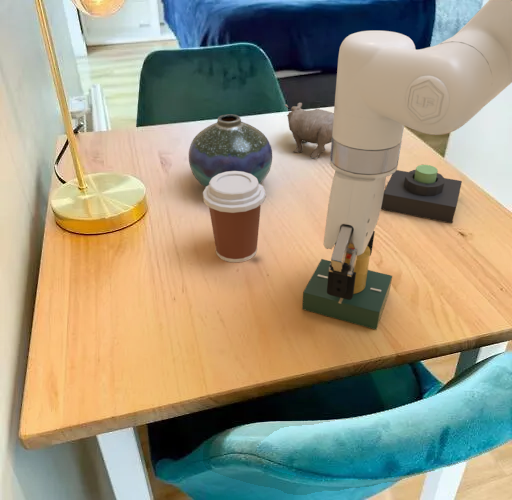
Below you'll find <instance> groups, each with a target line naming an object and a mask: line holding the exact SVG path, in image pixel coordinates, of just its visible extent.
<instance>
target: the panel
mask: <svg viewBox="0 0 512 500" xmlns="http://www.w3.org/2000/svg"><path fill="white" fill-rule="evenodd" d="M330 262H331V260H329V259H324V258H321V260H320V261H319V263H318V264H317V266H316V268H315V271H314V272H313V274H312V275H311V277H310V279H309V281H308V283H307V284H306V286H305V288H304V290H303V292H302V307H301V310H303V311H306V312H311V313H315V314H318V315H322V316H325V317H329V318H332V319H336V320H339V321H342V322H343V321H344V322H347V323H351V324H354V325H358V326H361V327H364V328H369V329H373V330H376V331H377V330H378V327H379V324H380V321H381V319H382V315H383V312H384V309H385V306H386V303H387V302H388V297H389V295H390V292H391V285H392V279H393V275H391V274H388V273H382V272H379V271H374V270H370V269H368V272H367V279H366V286H365V288H364V289H363V290H362V291H361V292H359V293H355V294H353V297H352V299H351V300H347V299H344V298H340V297H336V296H332V295H329V294H328V293H327V284H328V273H329V266H330Z"/></svg>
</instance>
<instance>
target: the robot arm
mask: <svg viewBox="0 0 512 500" xmlns="http://www.w3.org/2000/svg"><path fill="white" fill-rule="evenodd" d="M336 72H337V73H336V80H335V81H336V83H335V92H334V93H335V94H334V107H333V113H334V119H333V133H332V142H331V144H330V158H329V165H330V167H331V169H333V170H334V174H333V178H332V183H331V187H330V192H329V199H328V203H327V204H328V205H327V206H328V207H327V211H326V212H327V213H326V220H325V227H324V236H323V247H324V248H325V249H326V250H332V249H333V250H332V254H331V257H330V261H331V262H330V266H329V273H328V284H327V293H328V294H329V295H332V296H336V297H340V298H344V299H347V300H351V299H352V297H353V293H354V286H355V278H356V272H354V268H355V264H356V260H357V256H359V255H361V254H363V253H364V251H365V249H366V247H367V246H368V247H369V248H370V257H371V256H372V253H373V246H374V239H375V233H376V231H375V229H376V227H377V224H378V221H379V219H380V215H381V211H382V209H381V206H382V201H383V195H384V191H385V188H386V181H387V178H388V177H389V176H390V177H391V176H392V174H393V173H394V172H395V171H396V170H398V168H399V167H398V166H399V159H400V154H401V148H402V147H401V146H402V141H403V136H404V130H405V127H406V128H409V129H411V130H413V131H416V132H419V133H421V134H426V135H432V136H441V135H447V134H450V133H453V132H455V131H457V130H459V129H460V128H462V127H464V126H465V125H466V124H467V123H468V122H469V121H470V120H472V119H473V118H474V117H475V116H476V115H477V114H478V113H479V112H481V110H482V109H483V108H484V107H486V106H487V105H488V104H490V102H491V101H493V100H494V99H496V97H497V96H498V95H500V93H502V92H503V91H504V90H505V89H507V87H508V86H510V85H511V84H512V0H488V1H487V2H486V3H485V4H484V5H483V6H482V7H481V8H480V9H479V10H478V11H477V12H476V13H475V14H474V15H473V16H472V17H471V19H469V21H467V22H466V23H465V24H464V26H462V27H461V28H460V29H459V30H458V31H457V32H456V33H455V34H454V35H453V36H451V37H449V38H446V39H445V40H443V41H441V42H440V43H437V44H436V45H432V46H428V47H424V48H420V49H416V45H415V43H414V41H413V40H412V39H411V38H410V36H407V35H405V34H403V33H400V32H396V31H391V30H390V31H389V30H361V31H357V32H354V33H351V34H348V36H346V37H345V38H344V39H343V40H342V42H341V44H340V46H339V51H338V57H337V70H336ZM349 243H351V244H354V247H355V249H350V248H348V246H349ZM346 254H350V255H352V256H351V260H350V264H349V265H348V264H347V263H345V256H346Z"/></svg>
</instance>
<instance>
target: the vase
mask: <svg viewBox="0 0 512 500" xmlns="http://www.w3.org/2000/svg"><path fill="white" fill-rule="evenodd" d="M216 121H217V122H215V123H212V124H210V125H208V126H207V127H205V128H204V129H202V130H200V131H199V132H198V133H197V134H196V135H195V136H194V138H193V140H192V141H191V143H190V146H189V149H188V163H189V167H190V170H191V172H192V175H193V176H194V178H195V180H196V181H198V183H199V184H200V185H201V186H202V187H204V189H205V188H206V186H208V185H209V182H210V180H211V179H212V178H213V177H214V176H216V175H218V174H220V173H223V172H228V171H242V172H246V173H249V174H252V175H253V176H254V177H256V178H257V180H258V182H259V184H260V185H262V183H263V182H264V180H265V179H266V178H267V176H268V175H269V173H270V171H271V167H272V164H273V148H272V145H271V143H270V141H269V139H268V137H267V136H266V135H265V134H264V133H263V132H262V131H260V130H259V129H258V128H256V127H254V126H253V125H250V124H249V123H247V122H243V121H242V119H241V117H240V116H239V115H237V114H232V113H231V114H228V113H227V114H222V115H219V116H218V117H217V120H216Z"/></svg>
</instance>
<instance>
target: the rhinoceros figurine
mask: <svg viewBox="0 0 512 500" xmlns="http://www.w3.org/2000/svg"><path fill="white" fill-rule="evenodd" d="M284 106H285V107H286V108H289V106H288V104H287V103H286V104H284ZM302 107H303V103H302V102H298V103H297V106H295V105H294V106H293V105H292V107H291V108H290V109H291V111H289V112H288V113H287V115H286V116H287V121H288V129H289V130H290V131H291V134H292V138H293V139H294V141H295V145H296V148H295V149H294V150H293V153H299V154H302V152H303V150H304V146H303V143H304V142H305V143H309V144H314V145H317V146H316V148H315V149H314V150H313V152H312V153H311V154H310V155H309V157H310V158H311V159H319V156H320V154H323V152H325V151H326V148H325V146H326V145H328V144H330V143H332V133H333V119H334V112H331V111H329V110H324V109H320V108H315V109H311V110H310V109H309V110H305V109H303V108H302Z"/></svg>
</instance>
